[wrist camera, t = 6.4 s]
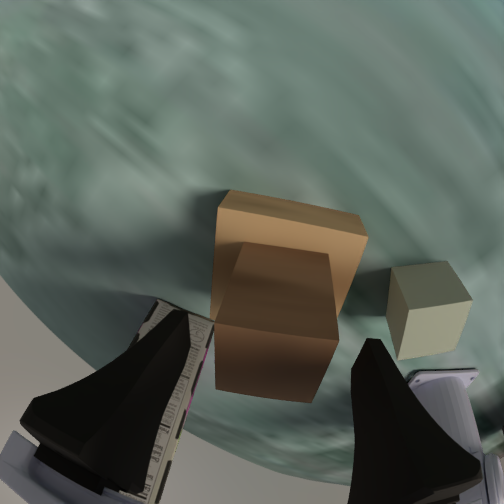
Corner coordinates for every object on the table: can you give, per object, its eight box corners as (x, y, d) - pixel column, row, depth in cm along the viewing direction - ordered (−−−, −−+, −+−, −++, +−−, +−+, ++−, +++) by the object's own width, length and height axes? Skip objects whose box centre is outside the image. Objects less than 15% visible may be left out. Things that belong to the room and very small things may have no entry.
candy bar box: (193, 391, 26) (144, 539, 12) (146, 372, 26) (83, 514, 12) (222, 320, 20) (146, 555, 6) (156, 294, 20) (43, 506, 6)
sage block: (436, 308, 17) (454, 350, 14) (385, 315, 18) (397, 360, 15) (447, 260, 15) (472, 300, 12) (391, 266, 16) (409, 310, 13)
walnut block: (312, 316, 15) (311, 403, 11) (239, 306, 16) (215, 389, 11) (328, 253, 13) (339, 340, 9) (244, 241, 14) (214, 322, 9)
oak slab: (324, 308, 19) (326, 340, 16) (221, 288, 19) (209, 319, 17) (357, 212, 15) (368, 236, 13) (231, 187, 16) (217, 207, 13)
